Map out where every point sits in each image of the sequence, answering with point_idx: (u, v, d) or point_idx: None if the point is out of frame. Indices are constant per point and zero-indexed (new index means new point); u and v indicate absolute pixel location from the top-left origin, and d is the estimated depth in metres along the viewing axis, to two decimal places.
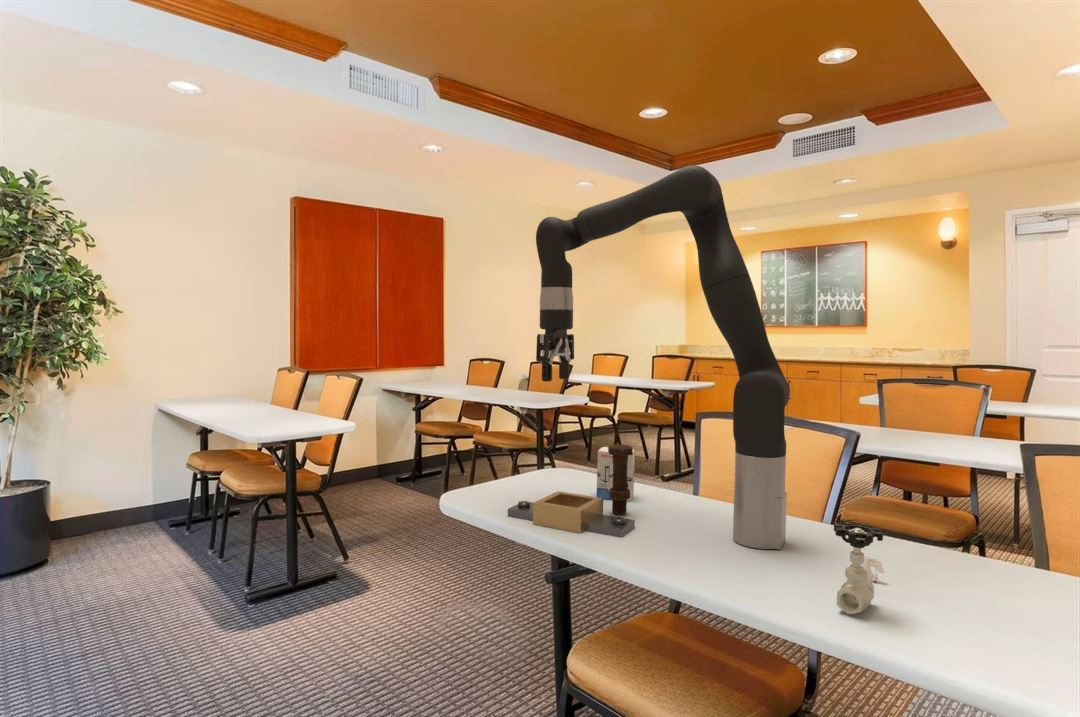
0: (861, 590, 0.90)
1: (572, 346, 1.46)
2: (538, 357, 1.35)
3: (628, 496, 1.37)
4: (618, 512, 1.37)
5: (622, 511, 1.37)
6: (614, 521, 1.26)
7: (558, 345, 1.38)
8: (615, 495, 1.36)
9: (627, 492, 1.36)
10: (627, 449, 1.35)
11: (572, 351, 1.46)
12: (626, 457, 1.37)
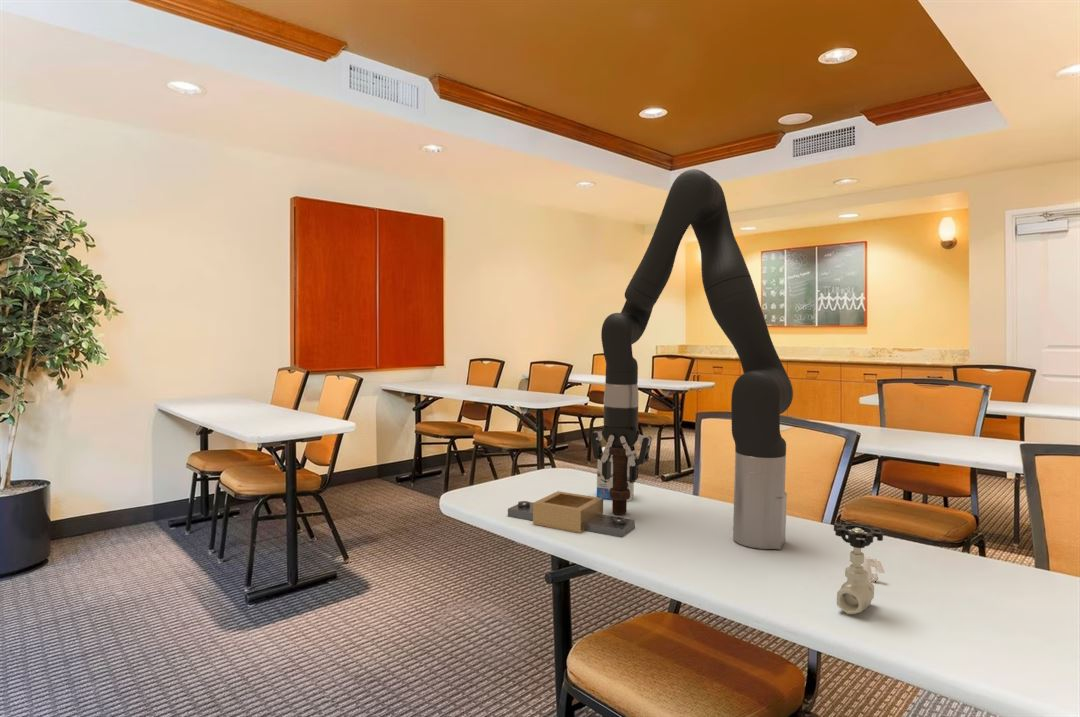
0: (861, 590, 0.90)
1: None
2: (643, 460, 1.34)
3: (628, 496, 1.37)
4: (618, 512, 1.37)
5: (622, 511, 1.37)
6: (614, 521, 1.26)
7: None
8: (615, 495, 1.36)
9: (627, 492, 1.36)
10: None
11: None
12: (626, 457, 1.37)
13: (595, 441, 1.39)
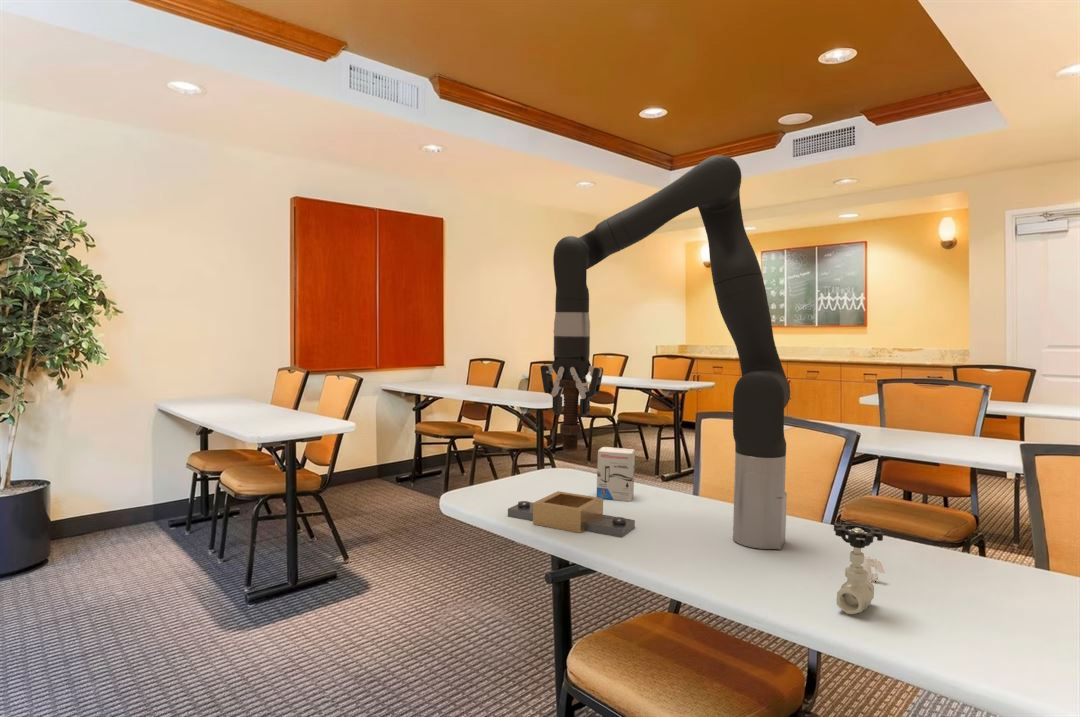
0: (861, 590, 0.90)
1: None
2: (594, 391, 1.27)
3: (579, 431, 1.30)
4: (568, 448, 1.30)
5: (572, 447, 1.30)
6: (614, 521, 1.26)
7: None
8: (565, 430, 1.29)
9: (578, 427, 1.30)
10: None
11: None
12: (577, 390, 1.30)
13: (545, 374, 1.32)
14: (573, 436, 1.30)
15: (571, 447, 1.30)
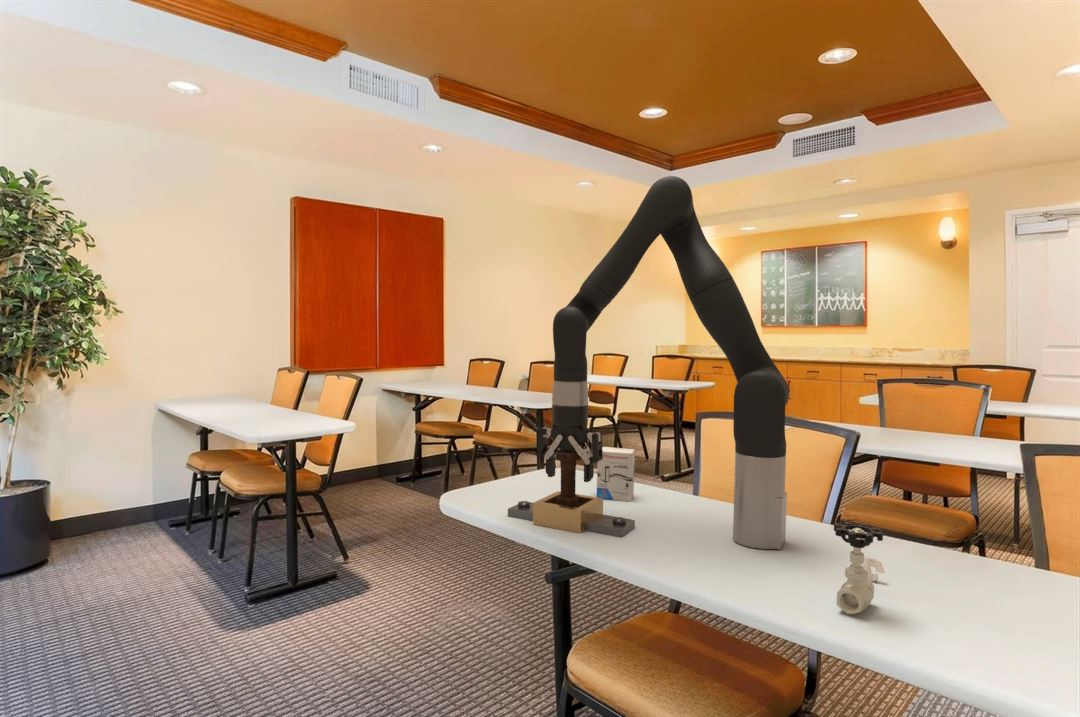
0: (861, 590, 0.90)
1: None
2: (598, 458, 1.27)
3: (576, 503, 1.31)
4: None
5: None
6: (614, 521, 1.26)
7: None
8: (562, 502, 1.30)
9: (575, 499, 1.31)
10: (574, 454, 1.30)
11: None
12: (574, 462, 1.31)
13: (542, 438, 1.33)
14: None
15: None
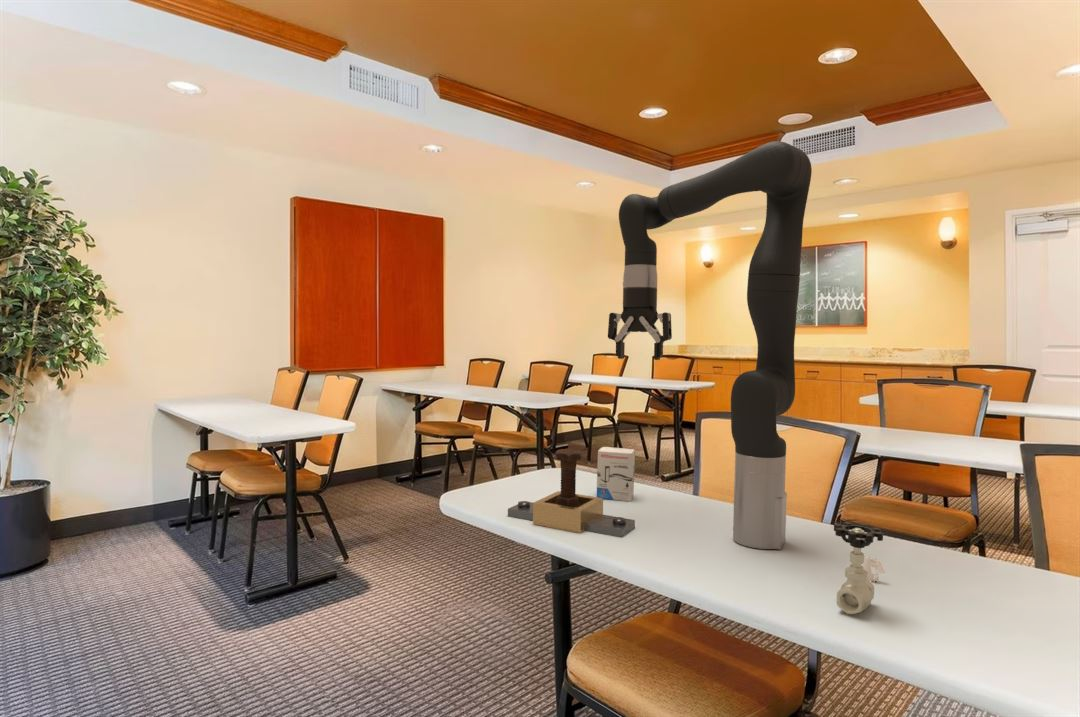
0: (861, 590, 0.90)
1: None
2: (668, 335, 1.36)
3: (576, 503, 1.31)
4: None
5: None
6: (614, 521, 1.26)
7: None
8: (562, 502, 1.30)
9: (575, 499, 1.30)
10: (575, 454, 1.29)
11: None
12: (574, 462, 1.31)
13: (612, 322, 1.42)
14: None
15: None
